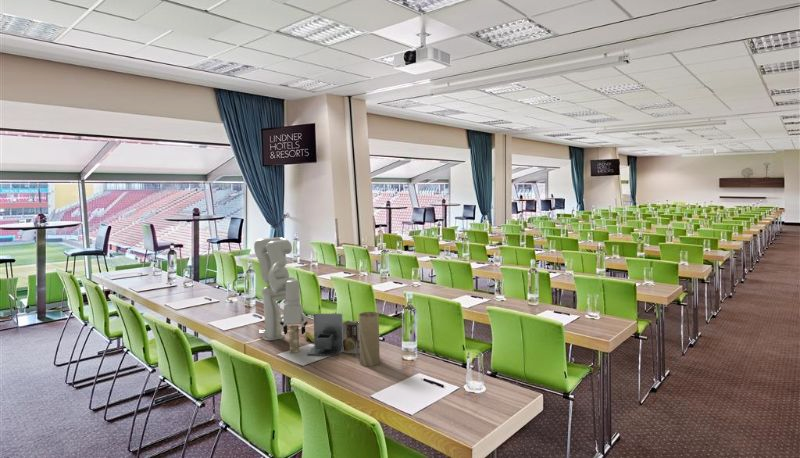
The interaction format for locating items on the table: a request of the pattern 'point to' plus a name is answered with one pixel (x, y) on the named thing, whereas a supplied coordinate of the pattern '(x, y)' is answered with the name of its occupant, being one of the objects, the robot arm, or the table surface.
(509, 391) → the table surface
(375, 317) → the tube
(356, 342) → the coffee box
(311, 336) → the plastic component
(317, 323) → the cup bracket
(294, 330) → the wooden block
